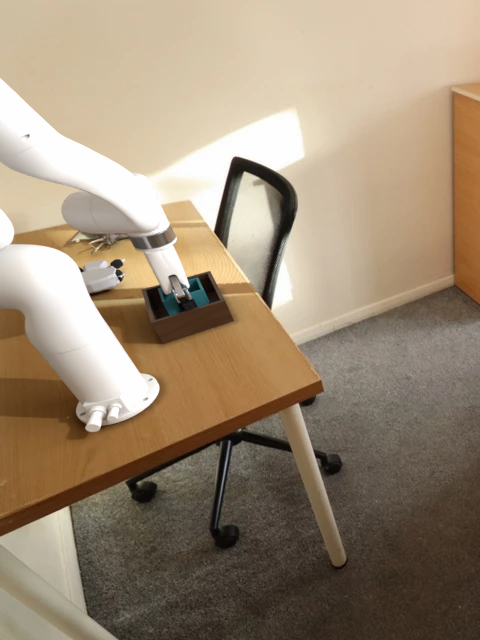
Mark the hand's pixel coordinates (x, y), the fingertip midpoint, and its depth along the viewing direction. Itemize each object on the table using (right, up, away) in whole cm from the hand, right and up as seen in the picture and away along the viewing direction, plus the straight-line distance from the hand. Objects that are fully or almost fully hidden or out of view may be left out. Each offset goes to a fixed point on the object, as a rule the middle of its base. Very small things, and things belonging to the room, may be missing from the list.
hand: (189, 307), depth 107 cm
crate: (0, -2, +1) cm, 2 cm away
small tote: (0, -1, +1) cm, 1 cm away
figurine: (-43, +22, +29) cm, 56 cm away
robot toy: (-29, +7, +11) cm, 32 cm away
